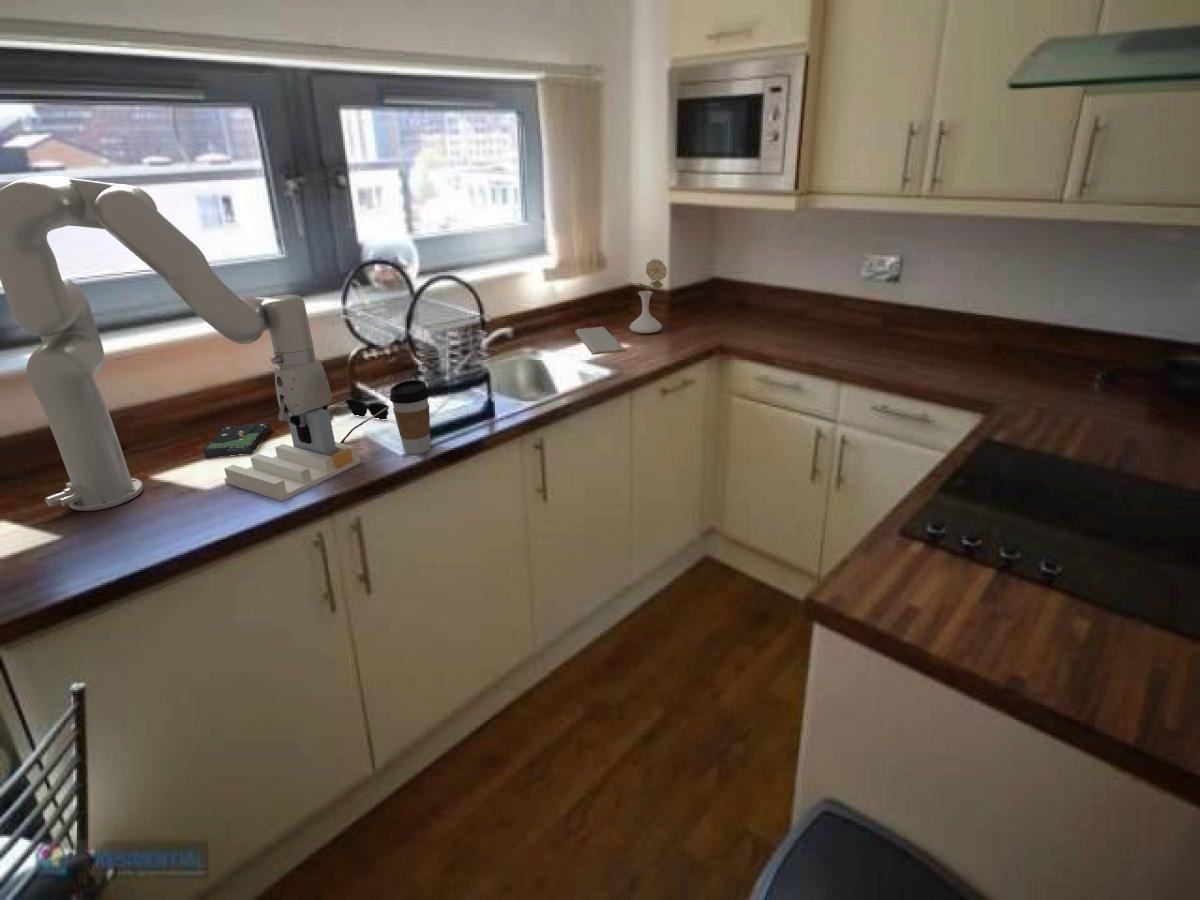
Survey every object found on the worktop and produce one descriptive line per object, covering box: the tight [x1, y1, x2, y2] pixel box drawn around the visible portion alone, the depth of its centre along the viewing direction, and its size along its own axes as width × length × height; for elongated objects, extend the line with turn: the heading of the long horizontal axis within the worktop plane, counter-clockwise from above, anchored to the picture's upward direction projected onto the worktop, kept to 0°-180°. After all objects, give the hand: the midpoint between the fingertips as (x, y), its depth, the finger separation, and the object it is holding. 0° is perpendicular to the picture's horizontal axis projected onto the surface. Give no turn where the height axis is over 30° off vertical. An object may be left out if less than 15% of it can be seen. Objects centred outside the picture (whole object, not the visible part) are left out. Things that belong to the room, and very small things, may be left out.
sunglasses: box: [329, 398, 390, 444], centre depth 171 cm, size 14×16×5 cm
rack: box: [223, 441, 362, 502], centre depth 149 cm, size 20×18×4 cm
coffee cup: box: [389, 379, 432, 455], centre depth 156 cm, size 8×8×15 cm
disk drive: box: [203, 422, 272, 459], centre depth 165 cm, size 10×3×15 cm
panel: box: [288, 408, 337, 457], centre depth 151 cm, size 3×10×10 cm, turn 60°
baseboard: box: [572, 323, 626, 356], centre depth 238 cm, size 31×3×12 cm
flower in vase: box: [629, 258, 668, 334], centre depth 243 cm, size 13×11×25 cm
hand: (312, 438), depth 152 cm, fingers closed on panel, 2 cm apart
